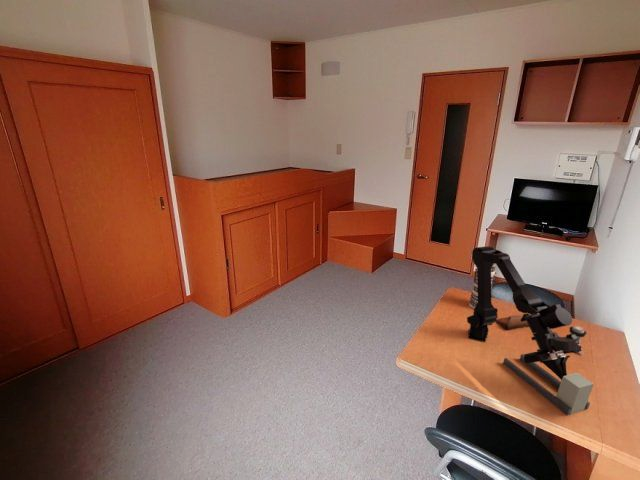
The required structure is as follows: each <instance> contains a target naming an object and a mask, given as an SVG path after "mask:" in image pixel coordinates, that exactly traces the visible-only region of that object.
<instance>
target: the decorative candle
mask: <svg viewBox="0 0 640 480" xmlns="http://www.w3.org/2000/svg"><path fill="white" fill-rule="evenodd" d="M496 267H498V266H497V265H496V264H495V263H494V264H493V266H492V268H491V290H492V289H493V288H494V287H493V285H494V282H495V279H496V274H497V272H496ZM473 277H474V278H473V288H472V291H471V294H470V299H469V304H468V305H469V307H470V308H471V309H473V310H474V308H475V306H476V305H477V303H478V279H477V267H476V268H475V269H474V275H473Z"/></svg>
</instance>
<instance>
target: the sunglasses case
mask: <svg viewBox="0 0 640 480" xmlns="http://www.w3.org/2000/svg"><path fill="white" fill-rule="evenodd" d="M522 317H523V315H519V314H518V315H516V314H514V315H509V316H505V317H502V318H497V320H496V322H495V323H496V324H498V325H499V326H500V327H502V329H504V330H505V331H510V330H513V329H514V330H515V329H518V328H524V327H529V325H528V323H527V321H524V322H521V318H522Z"/></svg>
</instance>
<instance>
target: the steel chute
mask: <svg viewBox="0 0 640 480" xmlns="http://www.w3.org/2000/svg"><path fill="white" fill-rule="evenodd" d="M519 361H521V362H522V363H523V364H525V365H526V366H527V367H528V368H529V369H531V370H533V371H534V372H535V373H536V374H537V375H539V376H540V377H542V378H543V379H544V380H546V381H547V382H549V384H551V385H552V386H554V387H555V388H556V389H558V390H559V387H560V384H561V381H562V380H559V379H558V377H555V376H554V375H552V374H551V373H550V372H548V371H547V370H546V369H545V368H543V367H541V366H540V365H539V364H538V363H537V362H532V363H526V362H525V360H524V354H523V353H522V354H520V356H519ZM502 364H503V365H504V366H505V367H506V368H507V369H509V370H511V372H513V373H514V374H515V375H516V376H517V377H519V378H520V379H521V380H523V381H524V382H525V383H526V384H528V385H529V386H530V387H531V388H532V389H534V391H536V392H537V393H539V394H540V395H541V396H542V397H543V398H545V399H546V401H548V402H550V403H551V404H552V405H553V406H554V407H556V408H557V409H558V410H559V411H560V412H562V413H563V414H564V415H566V416H568V417H569V416H570V415H571V414H570V412H571V408H570V407H569V406H567V405H566V404H565V403H563V402H562V401H561V400H560V399H558V398H557V397H556V396H557V395H555V394H554V393H552V392H551V391H550V390H548V389H547V388H546V387H544V385H542V384H541V383H539V382H538V381H537V380H535V379H534V378H532V377H531V376H530V375H529V374H528V373H526V372H525V371H524V370H522V369H521V368H520V367H519V366H517V365H516V364H515V363H513V362H512V360H509V359H508V358H507V357H506V358H503V361H502ZM590 404H591V402H589V400H588V401H587V404H586V406H585V409H584V410H588V409H589V407H590Z"/></svg>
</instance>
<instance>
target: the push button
mask: <svg viewBox="0 0 640 480" xmlns="http://www.w3.org/2000/svg"><path fill="white" fill-rule="evenodd" d="M569 334H575V335H576V337H577V339H578V341H579V344H578V345H579V346H580V348H581V349H582V346H581V344H580V343H581V340H582V338H584V337H585V336H586V335H587V331H586V330H585V328H584V327H581V326H580V325H572V326H570V327H569ZM577 353H579V354H580V355H584V351H583V350H582V351H580V352H576V354H577Z"/></svg>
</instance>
